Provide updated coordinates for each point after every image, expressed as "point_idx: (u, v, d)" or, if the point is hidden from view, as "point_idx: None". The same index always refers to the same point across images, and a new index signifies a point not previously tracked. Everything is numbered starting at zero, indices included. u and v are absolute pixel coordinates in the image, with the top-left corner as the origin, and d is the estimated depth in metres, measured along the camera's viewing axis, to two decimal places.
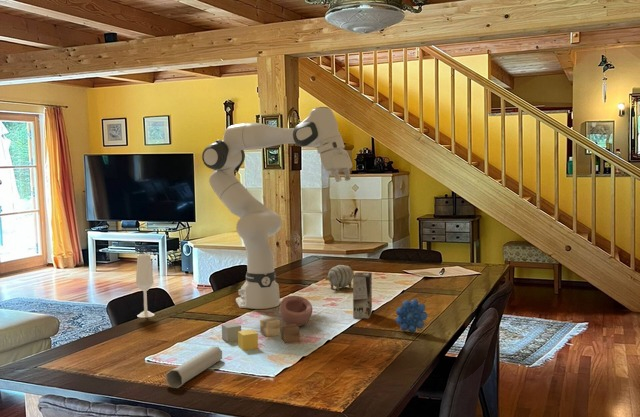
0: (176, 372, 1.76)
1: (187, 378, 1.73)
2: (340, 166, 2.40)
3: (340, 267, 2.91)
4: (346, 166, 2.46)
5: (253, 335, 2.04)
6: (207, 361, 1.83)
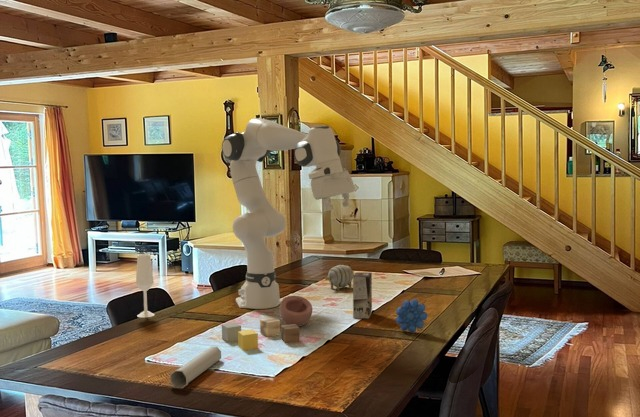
0: (179, 373, 1.75)
1: (191, 378, 1.72)
2: (333, 194, 2.20)
3: (340, 267, 2.91)
4: (344, 192, 2.25)
5: (253, 335, 2.04)
6: (208, 361, 1.83)
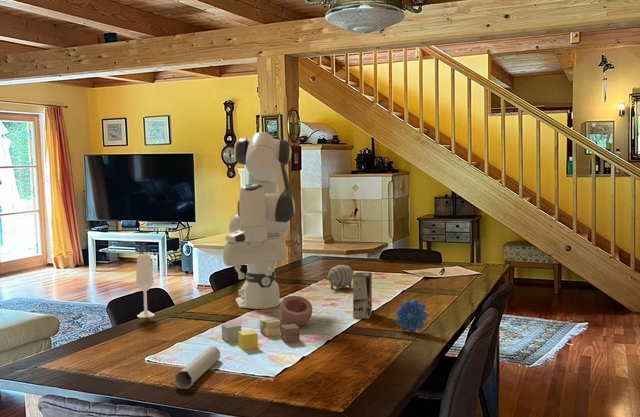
0: (182, 373, 1.75)
1: (195, 378, 1.72)
2: (247, 262, 2.01)
3: (340, 267, 2.91)
4: (265, 261, 2.04)
5: (253, 334, 2.04)
6: (209, 361, 1.83)
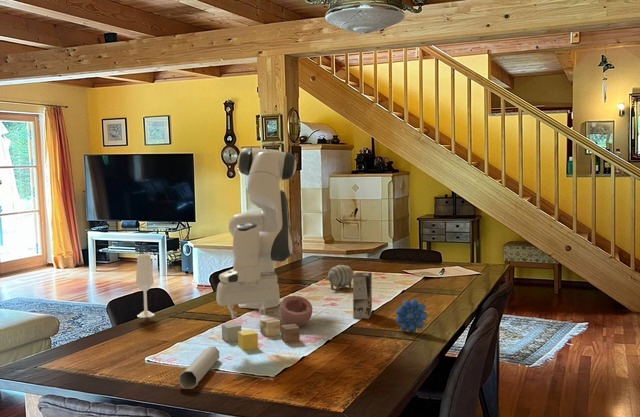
0: (185, 373, 1.75)
1: (199, 378, 1.72)
2: (240, 302, 2.01)
3: (340, 267, 2.91)
4: (258, 300, 2.04)
5: (253, 334, 2.04)
6: (210, 361, 1.83)
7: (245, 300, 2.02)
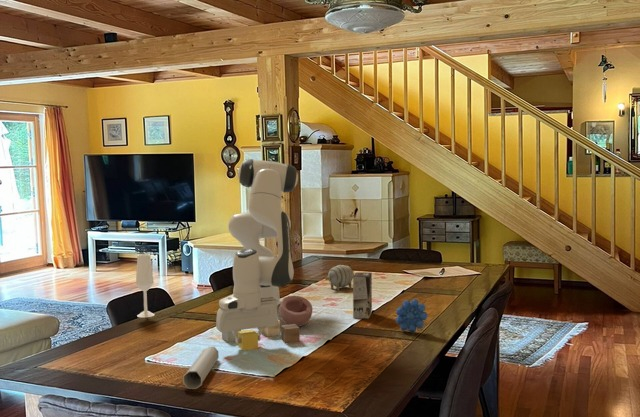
0: (188, 374, 1.74)
1: (203, 378, 1.72)
2: (240, 328, 2.02)
3: (340, 267, 2.91)
4: (258, 326, 2.05)
5: (253, 334, 2.04)
6: (212, 361, 1.83)
7: (245, 326, 2.03)
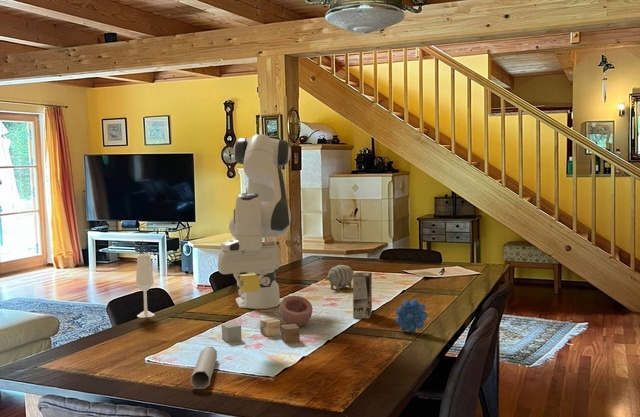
0: (194, 374, 1.74)
1: (210, 378, 1.73)
2: (241, 270, 2.04)
3: (340, 267, 2.91)
4: (259, 269, 2.06)
5: (254, 277, 2.05)
6: (213, 361, 1.83)
7: (246, 269, 2.04)
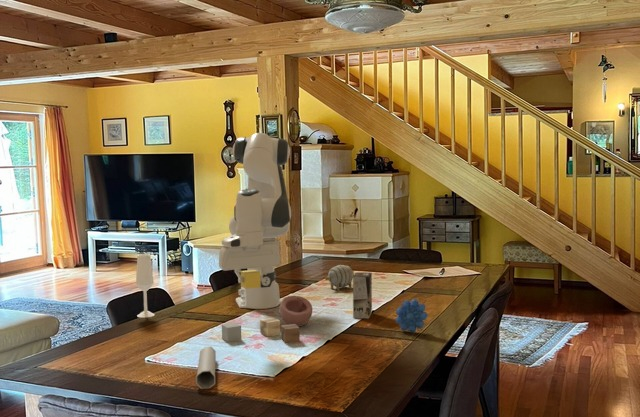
0: None
1: None
2: (242, 267, 2.03)
3: (340, 267, 2.91)
4: (260, 265, 2.06)
5: (255, 273, 2.05)
6: (215, 360, 1.84)
7: (247, 265, 2.04)
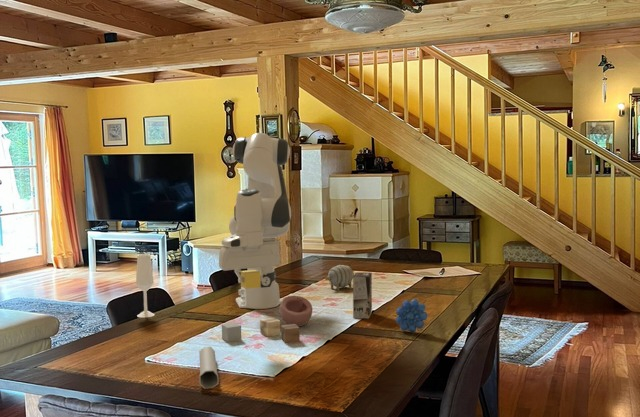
0: None
1: None
2: (242, 267, 2.03)
3: (340, 267, 2.91)
4: (260, 265, 2.06)
5: (255, 273, 2.05)
6: (215, 360, 1.84)
7: (247, 265, 2.04)
